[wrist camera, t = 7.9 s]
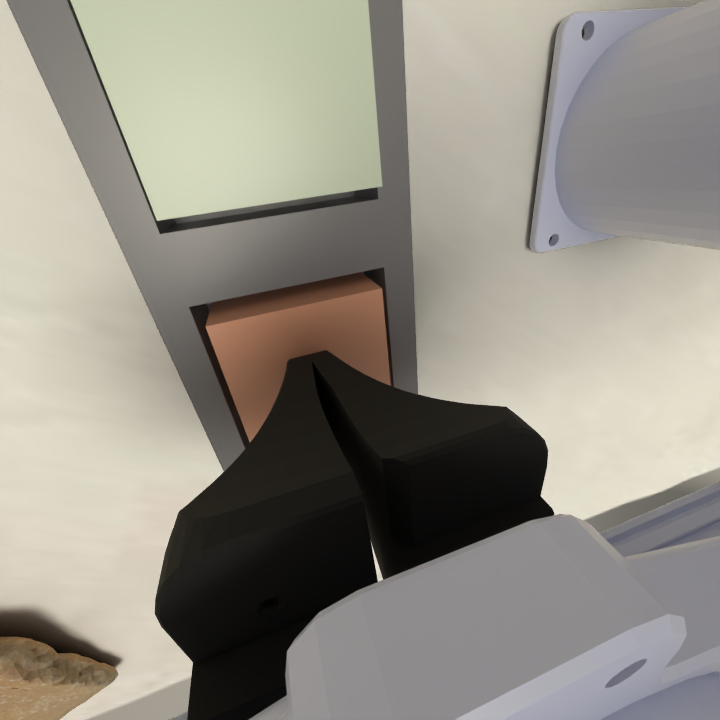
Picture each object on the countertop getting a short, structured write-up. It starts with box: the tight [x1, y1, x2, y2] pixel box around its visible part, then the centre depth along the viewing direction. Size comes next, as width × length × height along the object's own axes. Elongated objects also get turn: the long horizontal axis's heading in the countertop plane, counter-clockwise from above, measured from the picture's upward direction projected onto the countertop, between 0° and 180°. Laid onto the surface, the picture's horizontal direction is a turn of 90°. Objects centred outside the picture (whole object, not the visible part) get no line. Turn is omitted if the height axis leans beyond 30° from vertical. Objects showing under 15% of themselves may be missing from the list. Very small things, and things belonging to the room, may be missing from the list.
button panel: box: [7, 0, 418, 471], centre depth 11 cm, size 8×17×3 cm, turn 7°
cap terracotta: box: [205, 272, 391, 442], centre depth 12 cm, size 5×5×2 cm
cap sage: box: [70, 0, 382, 221], centre depth 8 cm, size 5×5×2 cm
